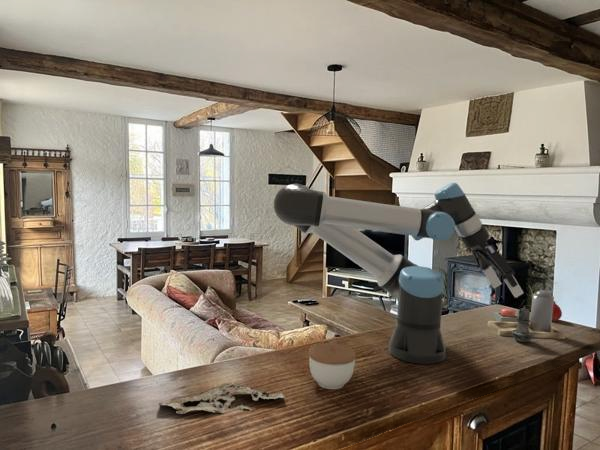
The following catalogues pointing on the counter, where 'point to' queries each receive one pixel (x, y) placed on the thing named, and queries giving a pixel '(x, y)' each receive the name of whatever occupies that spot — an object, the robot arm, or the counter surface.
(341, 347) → the lidded jar
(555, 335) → the tray
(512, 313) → the button
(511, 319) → the grey-green square box
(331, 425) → the counter surface
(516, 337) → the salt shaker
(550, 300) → the pepper pot
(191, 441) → the counter surface
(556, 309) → the onion
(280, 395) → the driftwood
